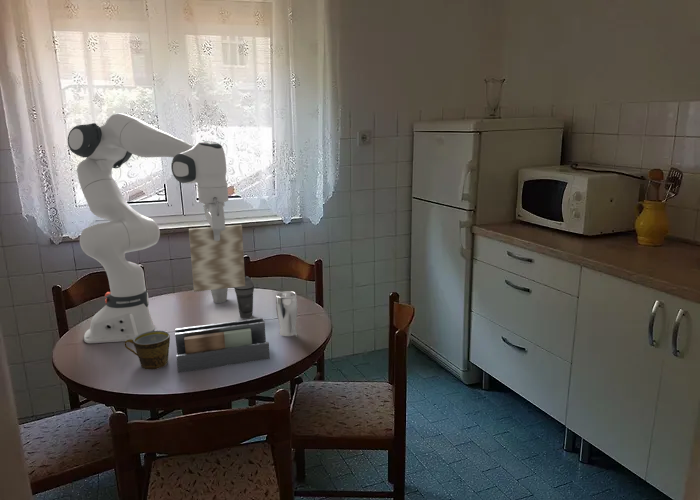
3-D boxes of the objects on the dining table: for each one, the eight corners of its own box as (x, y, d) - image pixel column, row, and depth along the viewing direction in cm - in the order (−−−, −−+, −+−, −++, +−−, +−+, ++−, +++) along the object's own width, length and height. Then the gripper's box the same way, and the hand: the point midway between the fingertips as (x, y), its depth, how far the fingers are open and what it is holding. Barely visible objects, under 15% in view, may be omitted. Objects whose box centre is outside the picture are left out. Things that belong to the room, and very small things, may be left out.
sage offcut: (222, 359, 155) (220, 334, 153) (221, 357, 157) (219, 332, 155) (252, 355, 157) (251, 330, 156) (251, 352, 159) (250, 328, 157)
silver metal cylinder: (300, 339, 172) (298, 296, 168) (279, 342, 170) (277, 298, 166) (296, 331, 178) (294, 290, 175) (276, 334, 176) (273, 292, 173)
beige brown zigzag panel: (194, 291, 164) (189, 229, 159) (193, 290, 165) (188, 228, 160) (245, 285, 169) (241, 225, 164) (244, 284, 171) (241, 224, 165)
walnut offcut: (187, 368, 149) (184, 339, 147) (187, 365, 151) (184, 337, 149) (226, 363, 153) (224, 334, 151) (225, 360, 155) (223, 331, 152)
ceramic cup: (177, 360, 158) (174, 330, 156) (166, 376, 148) (163, 344, 146) (134, 361, 158) (130, 331, 156) (121, 377, 148) (116, 345, 146)
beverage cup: (251, 320, 189) (248, 267, 184) (233, 319, 190) (229, 266, 186) (259, 313, 196) (255, 262, 191) (240, 312, 197) (237, 261, 192)
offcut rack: (178, 377, 148) (175, 343, 145) (178, 361, 158) (175, 328, 155) (270, 363, 155) (268, 330, 153) (264, 348, 166) (262, 317, 163)
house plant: (202, 309, 201) (198, 269, 197) (196, 299, 213) (192, 260, 209) (238, 303, 207) (235, 264, 203) (231, 293, 219) (228, 256, 215)
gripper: (228, 199, 151) (231, 246, 155) (219, 190, 170) (222, 231, 173) (206, 201, 149) (209, 248, 153) (199, 191, 168) (202, 233, 171)
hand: (216, 239), depth 163 cm, fingers closed on beige brown zigzag panel, 1 cm apart
